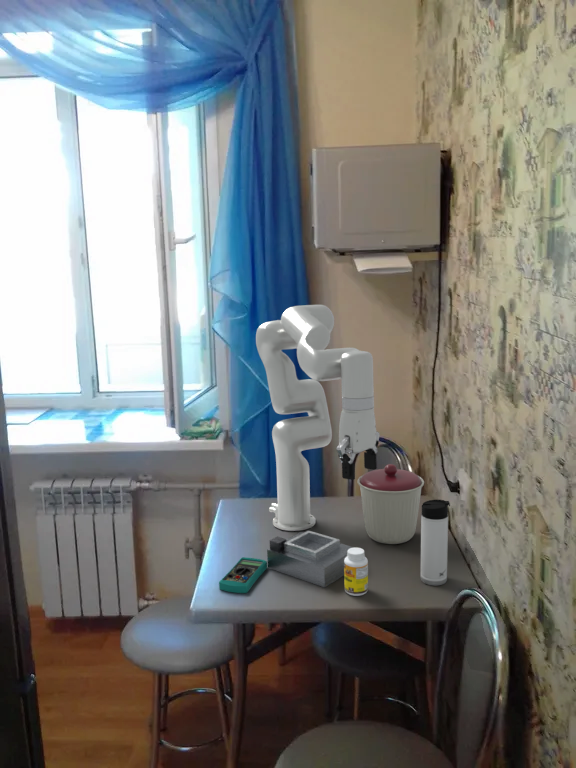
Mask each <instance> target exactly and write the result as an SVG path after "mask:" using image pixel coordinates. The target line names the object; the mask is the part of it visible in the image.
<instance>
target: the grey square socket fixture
mask: <svg viewBox="0 0 576 768" xmlns="http://www.w3.org/2000/svg"><path fill="white" fill-rule="evenodd" d="M340 541H341V540H340V539H339V538H335V537H331V536H328V535H326V534H323V533H322V534H321V533H318V532H315V531H311V530H306V531H305V532H303V531H300V532H298V533H296V534H294V535H292V536H291V537H288V538H283V537H280V536H276V537H273V538H272V539H270V540H269V548H267V555H266V556H267V569H270V570H274V571H276V572H279V573H282V574H285V575H287V576H289V577H290V576H291V577H293V578H295V579H299V580H302V581H305V582H307V583H310V584H314V585H316V586H319V587H322V588H324V589H325V588H327V587H328V586H330V585H331V584H333V583H335V582H336V581H338V580H339V579H340V578H343V577H344V559H345V558H346V557H347V551H348V549H350V548H356V547H354V546H351V545H348V544H344V543H341V542H340Z"/></svg>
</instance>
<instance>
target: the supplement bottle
mask: <svg viewBox="0 0 576 768" xmlns="http://www.w3.org/2000/svg"><path fill="white" fill-rule="evenodd" d="M343 577H344V581H343V582H344V587H343V588H344V592H345V593H347V594H348V595H350V596H354V597H359V596H360V597H361V596H364V595H366V594H367V592H368V589H369V560H368V558H367V557H366V555H365V550H364V549H363V548H361V547H355V548H350V549H348V551H347V557H346V558H345V559H344V576H343Z"/></svg>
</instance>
